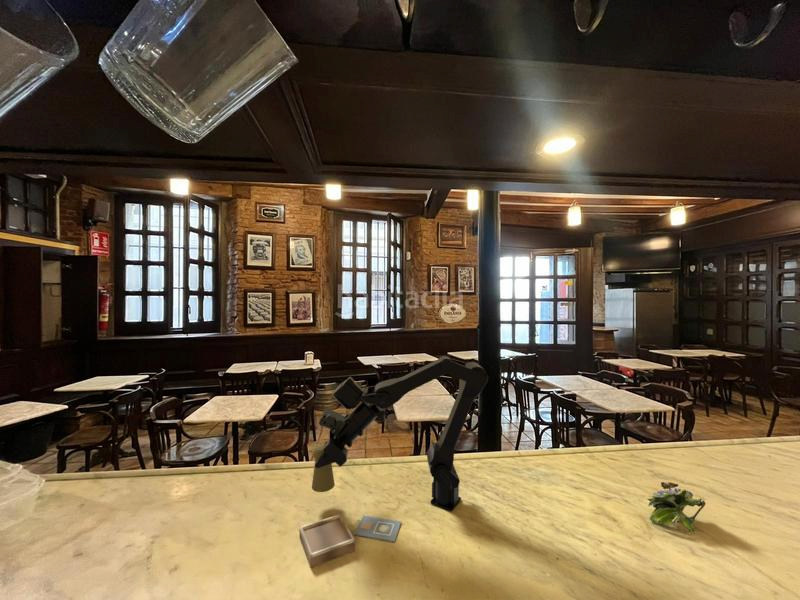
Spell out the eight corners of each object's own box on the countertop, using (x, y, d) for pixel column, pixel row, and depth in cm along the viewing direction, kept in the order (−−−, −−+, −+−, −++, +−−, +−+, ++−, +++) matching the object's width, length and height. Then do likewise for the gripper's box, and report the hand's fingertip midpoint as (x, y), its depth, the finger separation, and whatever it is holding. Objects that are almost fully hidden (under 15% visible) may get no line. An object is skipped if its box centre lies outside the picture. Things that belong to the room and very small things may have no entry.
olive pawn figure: (329, 493, 90) (328, 451, 90) (307, 490, 92) (307, 449, 91) (338, 480, 96) (337, 441, 96) (317, 478, 98) (317, 439, 97)
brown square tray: (340, 524, 86) (340, 513, 86) (355, 550, 78) (355, 539, 78) (299, 537, 82) (299, 526, 82) (310, 567, 73) (310, 555, 73)
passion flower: (667, 534, 91) (687, 493, 93) (705, 558, 80) (727, 511, 82) (630, 509, 92) (651, 468, 94) (664, 529, 81) (686, 483, 83)
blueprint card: (401, 522, 87) (401, 521, 87) (394, 542, 80) (394, 540, 80) (363, 516, 89) (363, 515, 89) (353, 535, 83) (353, 533, 83)
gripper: (341, 389, 103) (304, 427, 103) (331, 412, 84) (286, 458, 84) (368, 415, 103) (331, 453, 103) (364, 443, 85) (319, 489, 85)
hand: (317, 461), depth 94 cm, fingers closed on olive pawn figure, 5 cm apart
